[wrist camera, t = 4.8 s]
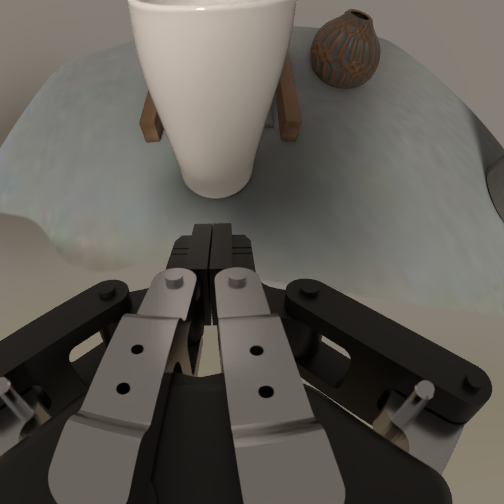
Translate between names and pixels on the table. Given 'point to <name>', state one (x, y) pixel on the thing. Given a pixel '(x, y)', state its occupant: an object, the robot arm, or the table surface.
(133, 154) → the table surface
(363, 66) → the vase
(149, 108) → the cradle
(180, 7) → the white cup
